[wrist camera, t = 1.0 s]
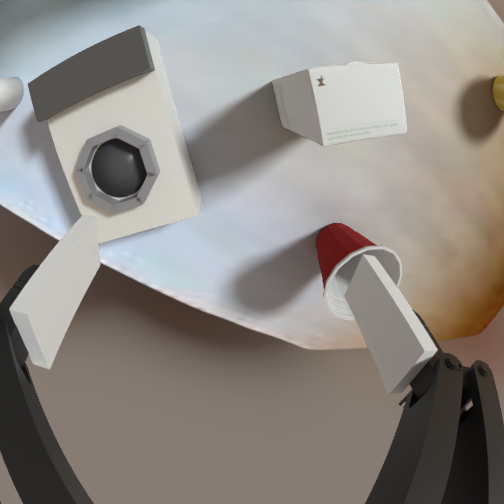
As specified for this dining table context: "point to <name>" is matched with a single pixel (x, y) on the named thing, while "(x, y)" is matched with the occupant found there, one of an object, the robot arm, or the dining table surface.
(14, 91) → the lens
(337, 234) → the plastic cup
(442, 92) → the dining table surface
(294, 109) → the skincare box
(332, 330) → the dining table surface
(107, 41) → the camera body
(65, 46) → the dining table surface
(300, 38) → the dining table surface
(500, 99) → the plant pot
